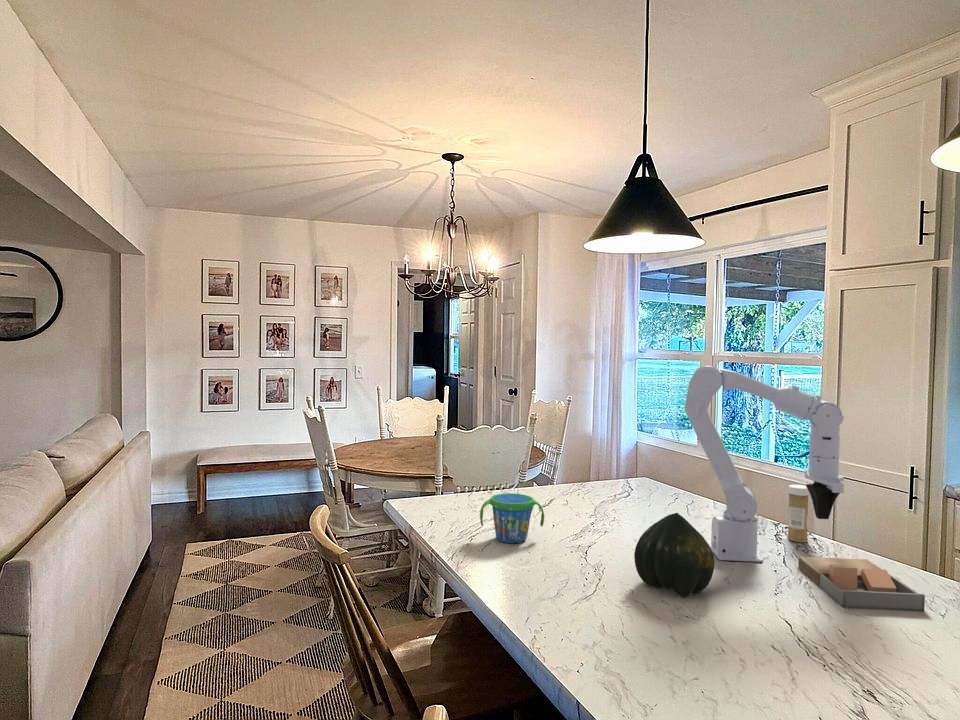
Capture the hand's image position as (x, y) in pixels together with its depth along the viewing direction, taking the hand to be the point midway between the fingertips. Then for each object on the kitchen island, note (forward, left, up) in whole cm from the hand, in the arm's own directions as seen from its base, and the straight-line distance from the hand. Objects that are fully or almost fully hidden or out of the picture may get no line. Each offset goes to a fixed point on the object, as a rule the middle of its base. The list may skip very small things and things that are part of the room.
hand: (822, 518), depth 138 cm
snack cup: (-68, +9, -11) cm, 69 cm away
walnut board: (+1, -7, -10) cm, 13 cm away
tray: (+1, -18, -10) cm, 20 cm away
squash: (-35, -17, -11) cm, 40 cm away
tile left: (-2, -14, -8) cm, 16 cm away
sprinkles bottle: (+2, +18, -11) cm, 21 cm away
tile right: (+5, -14, -9) cm, 17 cm away
